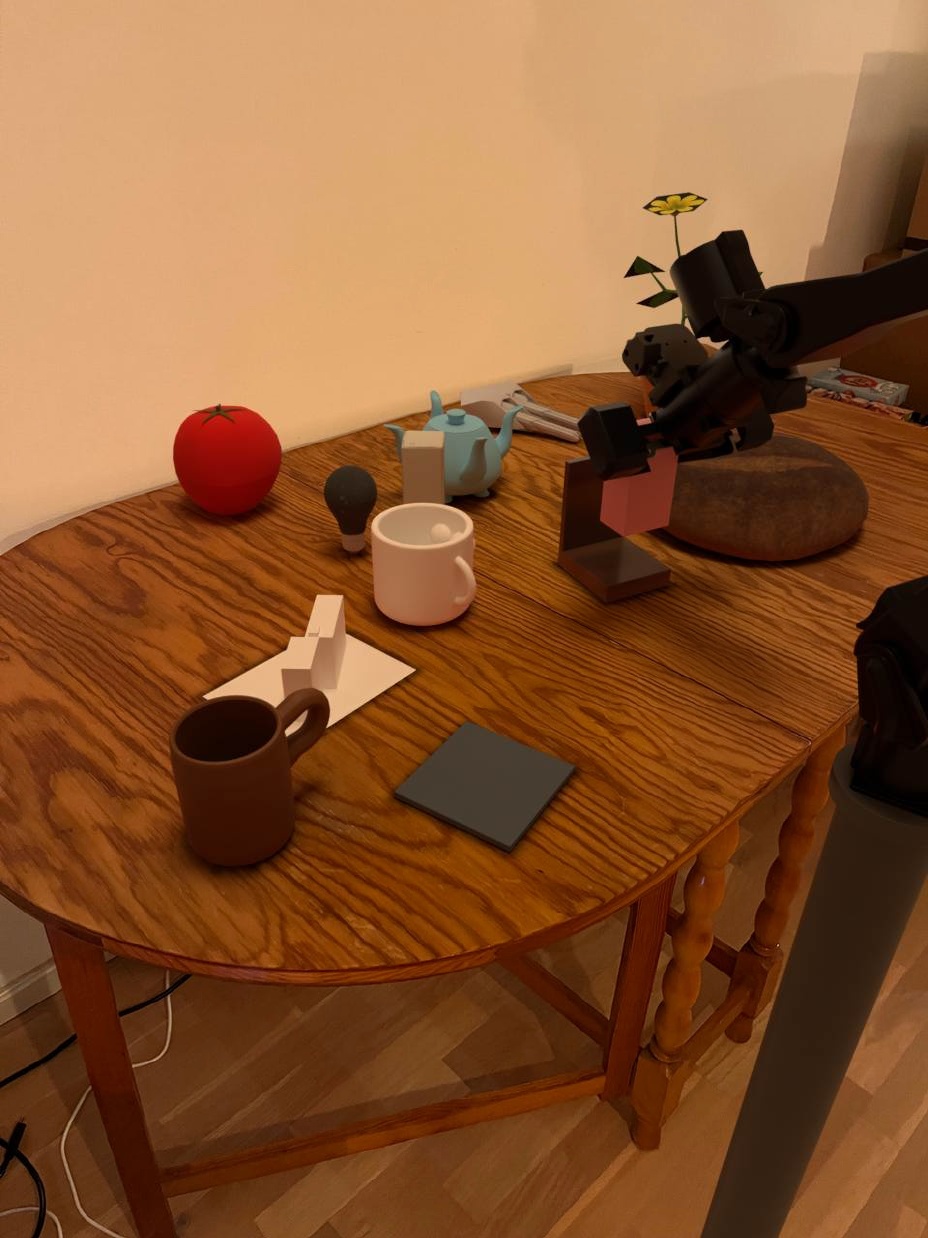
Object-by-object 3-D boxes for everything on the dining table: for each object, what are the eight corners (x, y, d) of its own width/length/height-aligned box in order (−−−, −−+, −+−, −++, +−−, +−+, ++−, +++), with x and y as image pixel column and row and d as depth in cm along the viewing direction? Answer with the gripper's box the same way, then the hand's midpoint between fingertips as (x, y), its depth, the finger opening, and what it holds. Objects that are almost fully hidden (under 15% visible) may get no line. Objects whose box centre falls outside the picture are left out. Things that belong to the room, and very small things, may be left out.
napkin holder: (329, 624, 88) (324, 573, 85) (417, 669, 82) (416, 615, 79) (200, 697, 78) (191, 641, 75) (290, 753, 72) (283, 696, 69)
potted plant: (591, 402, 142) (610, 191, 126) (705, 396, 145) (737, 189, 129) (629, 445, 128) (656, 212, 111) (754, 437, 131) (798, 209, 114)
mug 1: (303, 752, 72) (293, 654, 67) (366, 800, 68) (359, 699, 63) (167, 830, 65) (144, 727, 60) (227, 890, 60) (207, 784, 55)
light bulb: (324, 543, 102) (317, 459, 96) (373, 537, 103) (369, 454, 98) (333, 567, 97) (327, 480, 92) (385, 560, 99) (381, 474, 93)
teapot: (522, 479, 117) (526, 403, 112) (481, 521, 107) (483, 439, 102) (431, 462, 122) (431, 387, 116) (384, 500, 111) (381, 420, 106)
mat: (575, 771, 71) (575, 765, 70) (509, 853, 64) (510, 847, 63) (466, 726, 75) (466, 720, 75) (394, 797, 68) (393, 791, 68)
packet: (668, 525, 91) (682, 429, 85) (623, 537, 88) (634, 439, 83) (643, 510, 94) (655, 416, 88) (599, 520, 91) (609, 424, 86)
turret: (569, 462, 127) (577, 431, 125) (442, 418, 133) (447, 387, 130) (592, 439, 135) (600, 409, 132) (472, 398, 140) (477, 368, 138)
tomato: (178, 532, 104) (160, 426, 97) (184, 490, 113) (168, 390, 107) (288, 524, 106) (278, 419, 99) (285, 483, 115) (275, 385, 109)
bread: (900, 570, 98) (923, 495, 94) (647, 568, 98) (657, 493, 93) (813, 465, 122) (827, 401, 118) (610, 463, 122) (616, 399, 117)
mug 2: (513, 613, 90) (517, 531, 85) (436, 654, 84) (436, 568, 79) (431, 569, 97) (430, 491, 92) (354, 604, 91) (349, 522, 86)
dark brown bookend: (669, 585, 95) (685, 478, 88) (605, 603, 92) (617, 494, 85) (617, 548, 102) (629, 447, 95) (557, 564, 98) (565, 460, 92)
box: (443, 560, 99) (443, 448, 92) (403, 559, 99) (400, 447, 92) (445, 537, 103) (445, 429, 96) (406, 537, 103) (404, 428, 96)
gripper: (776, 289, 80) (678, 378, 94) (599, 313, 72) (522, 405, 86) (824, 404, 78) (717, 477, 92) (649, 440, 71) (561, 513, 85)
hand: (631, 465), depth 89 cm, fingers closed on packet, 5 cm apart
